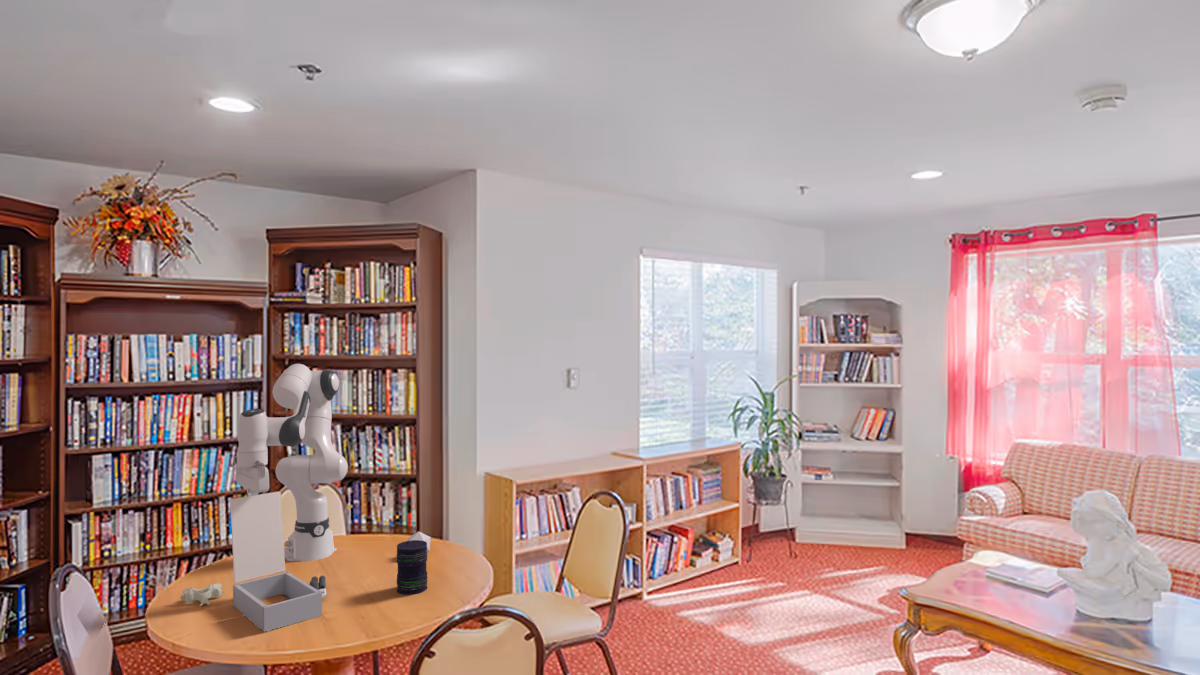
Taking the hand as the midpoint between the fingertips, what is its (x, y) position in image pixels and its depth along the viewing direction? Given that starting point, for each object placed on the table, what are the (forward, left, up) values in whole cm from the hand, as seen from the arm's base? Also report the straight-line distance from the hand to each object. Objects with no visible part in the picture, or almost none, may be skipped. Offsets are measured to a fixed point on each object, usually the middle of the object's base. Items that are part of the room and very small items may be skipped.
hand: (252, 502), depth 221 cm
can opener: (+14, +15, -31) cm, 37 cm away
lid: (+6, 0, -23) cm, 24 cm away
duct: (+20, 0, -30) cm, 36 cm away
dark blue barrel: (+34, +38, -30) cm, 59 cm away
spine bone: (-5, -13, -31) cm, 34 cm away
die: (+6, +57, -30) cm, 65 cm away
